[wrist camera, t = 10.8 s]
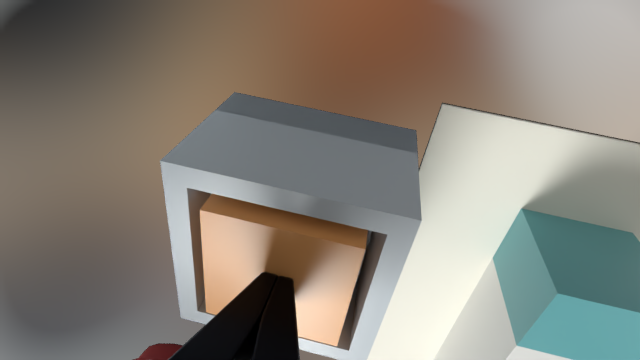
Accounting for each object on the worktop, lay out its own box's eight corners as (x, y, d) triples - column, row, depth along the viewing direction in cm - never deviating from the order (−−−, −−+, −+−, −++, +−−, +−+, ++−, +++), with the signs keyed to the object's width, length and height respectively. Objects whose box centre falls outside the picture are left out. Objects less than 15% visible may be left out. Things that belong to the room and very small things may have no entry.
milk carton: (504, 383, 18) (524, 473, 15) (430, 365, 18) (435, 448, 15) (632, 233, 12) (706, 328, 9) (521, 208, 12) (557, 293, 9)
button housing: (374, 260, 15) (364, 366, 11) (233, 227, 15) (180, 318, 12) (416, 130, 12) (421, 220, 8) (234, 92, 12) (160, 160, 8)
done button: (348, 273, 13) (336, 346, 11) (240, 247, 13) (206, 312, 11) (374, 182, 11) (365, 249, 8) (242, 152, 11) (199, 209, 9)
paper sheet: (551, 427, 19) (552, 431, 19) (347, 373, 20) (346, 376, 20) (835, 182, 10) (842, 186, 10) (442, 102, 11) (442, 104, 11)
